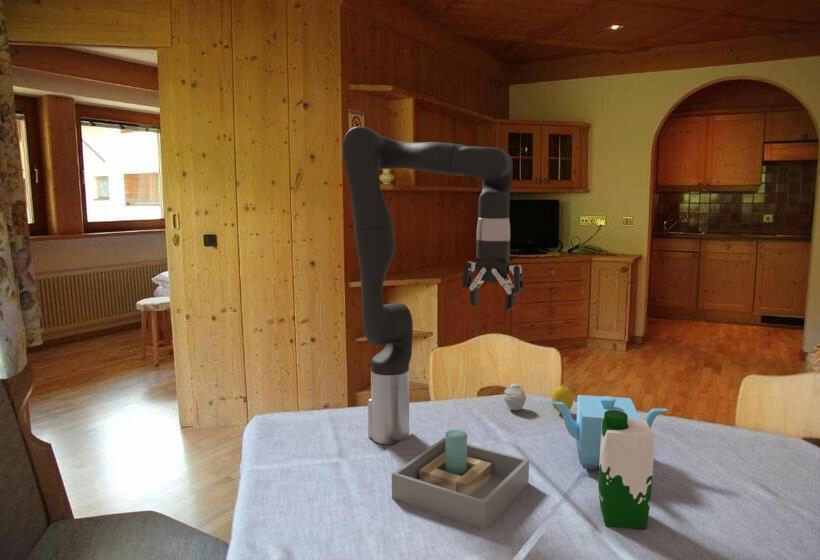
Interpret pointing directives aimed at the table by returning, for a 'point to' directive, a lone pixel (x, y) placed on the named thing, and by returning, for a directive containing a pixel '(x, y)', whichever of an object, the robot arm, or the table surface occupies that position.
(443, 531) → the table surface
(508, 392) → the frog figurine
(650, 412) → the teakettle
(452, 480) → the bore block
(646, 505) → the milk carton
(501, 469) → the open box
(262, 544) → the table surface
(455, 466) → the peg
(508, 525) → the table surface
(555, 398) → the lemon
